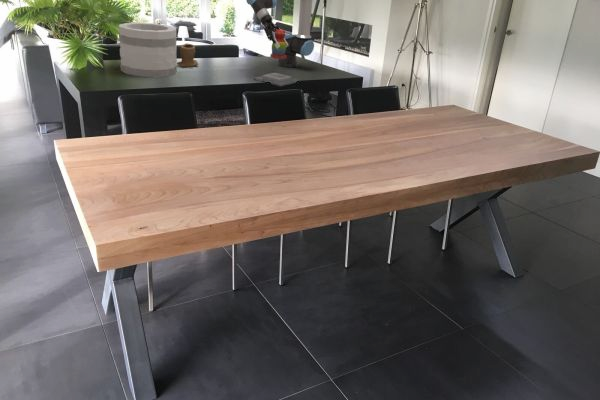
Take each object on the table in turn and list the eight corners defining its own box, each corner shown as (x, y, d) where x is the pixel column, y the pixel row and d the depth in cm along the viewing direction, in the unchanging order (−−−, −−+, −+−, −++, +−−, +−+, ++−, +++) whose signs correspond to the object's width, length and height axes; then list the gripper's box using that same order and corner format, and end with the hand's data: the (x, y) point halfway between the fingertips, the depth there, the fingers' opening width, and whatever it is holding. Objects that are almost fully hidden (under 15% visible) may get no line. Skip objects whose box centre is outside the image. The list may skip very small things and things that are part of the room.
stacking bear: (287, 57, 334) (289, 29, 326) (285, 59, 325) (287, 31, 317) (271, 55, 334) (273, 27, 326) (268, 57, 325) (270, 29, 317)
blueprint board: (272, 75, 350) (273, 70, 348) (299, 81, 340) (299, 77, 339) (253, 79, 333) (254, 74, 331) (280, 86, 323) (281, 81, 321)
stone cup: (184, 68, 341) (183, 46, 334) (174, 65, 348) (174, 43, 342) (202, 67, 351) (203, 45, 344) (193, 63, 358) (193, 42, 352)
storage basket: (164, 64, 347) (163, 23, 335) (185, 76, 323) (185, 31, 311) (113, 66, 328) (110, 22, 316) (132, 78, 303) (129, 31, 291)
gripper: (270, 20, 336) (288, 49, 335) (251, 21, 319) (269, 51, 318) (278, 13, 331) (295, 42, 331) (258, 14, 314) (276, 44, 314)
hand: (282, 46), depth 325 cm, fingers closed on stacking bear, 9 cm apart
